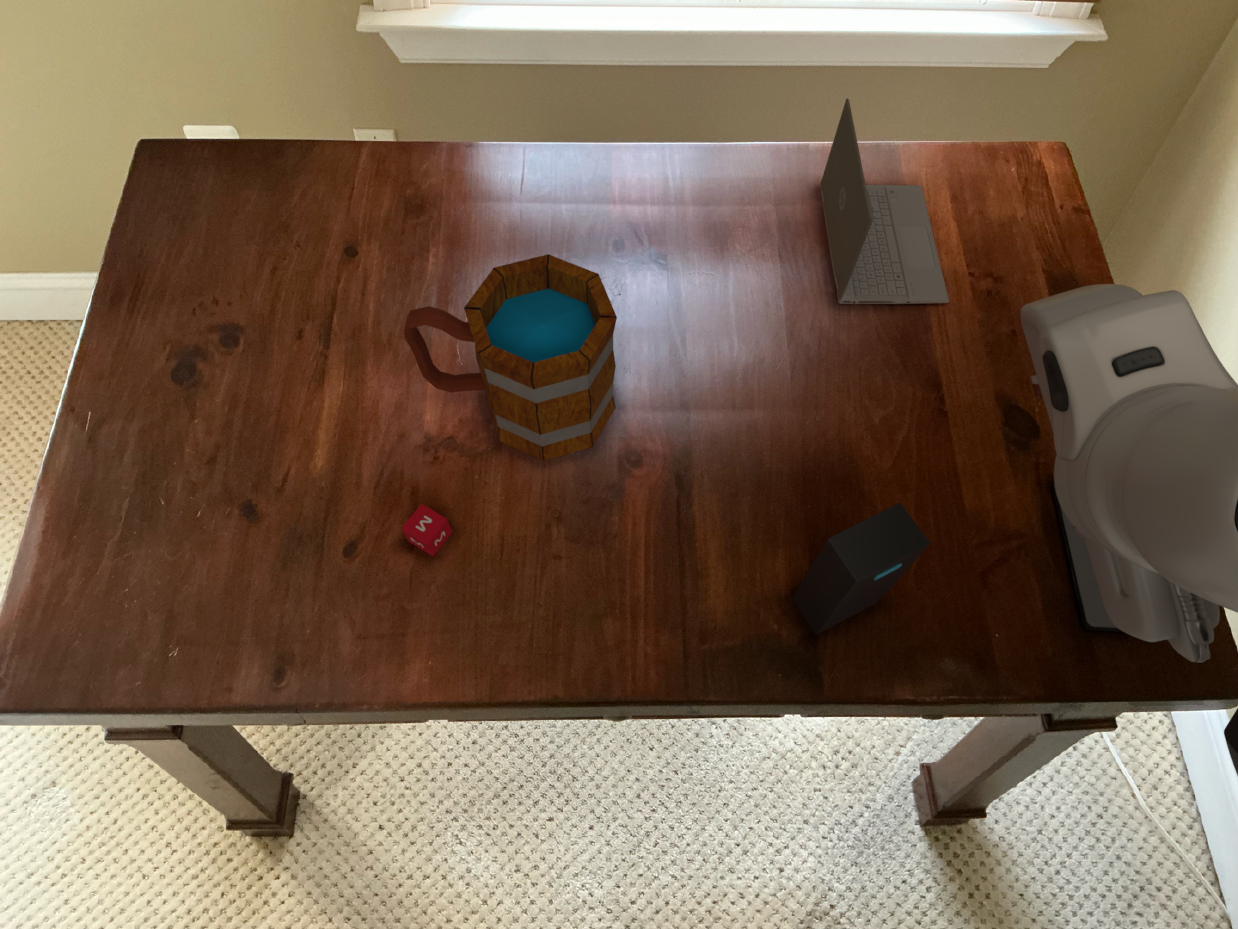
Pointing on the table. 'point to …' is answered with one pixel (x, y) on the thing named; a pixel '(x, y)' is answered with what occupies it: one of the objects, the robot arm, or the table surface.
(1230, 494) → the robot arm
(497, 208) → the table surface
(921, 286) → the laptop
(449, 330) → the mug
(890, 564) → the black power bank
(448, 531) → the dice
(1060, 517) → the smartphone
